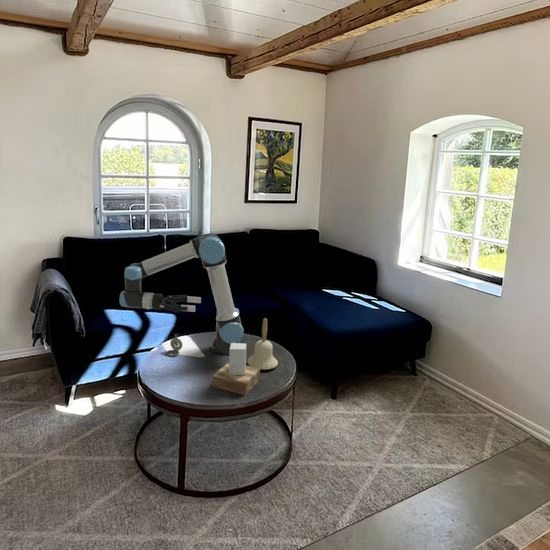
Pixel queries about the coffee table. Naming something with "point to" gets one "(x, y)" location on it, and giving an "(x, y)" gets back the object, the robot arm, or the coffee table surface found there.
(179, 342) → the pocket watch
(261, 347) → the handbell
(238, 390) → the walnut stand
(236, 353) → the supplement box
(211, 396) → the coffee table surface
